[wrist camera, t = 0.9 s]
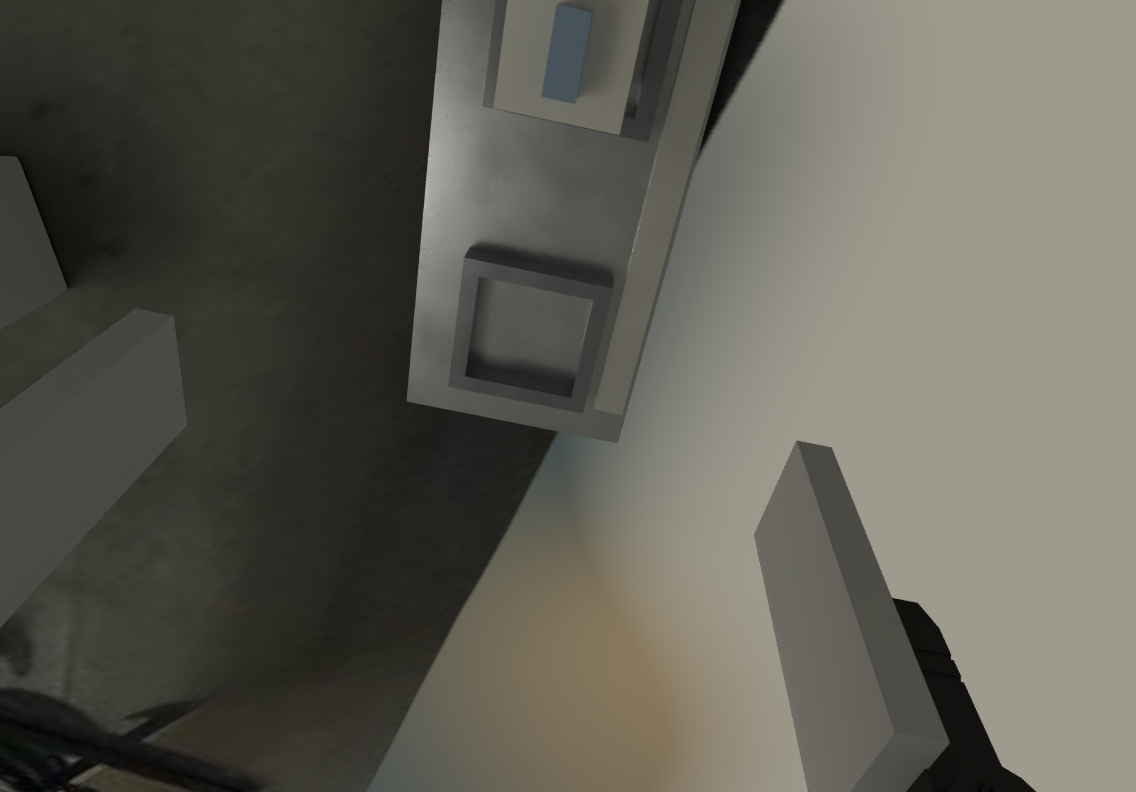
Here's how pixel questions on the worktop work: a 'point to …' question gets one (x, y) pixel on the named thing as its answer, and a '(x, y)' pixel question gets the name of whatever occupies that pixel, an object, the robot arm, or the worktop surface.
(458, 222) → the panel
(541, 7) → the plug
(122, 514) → the worktop surface
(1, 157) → the milk carton
